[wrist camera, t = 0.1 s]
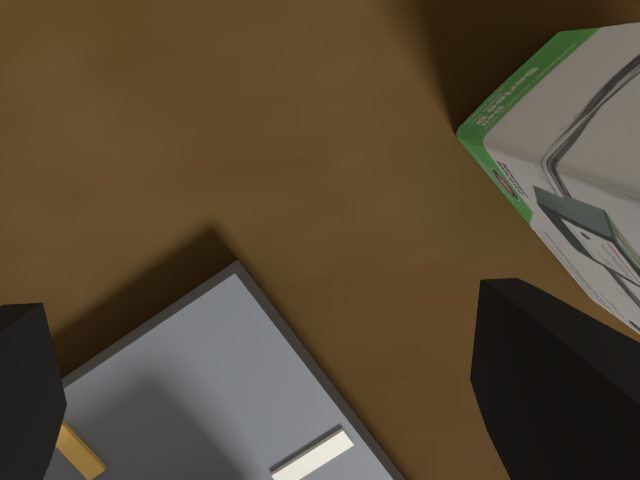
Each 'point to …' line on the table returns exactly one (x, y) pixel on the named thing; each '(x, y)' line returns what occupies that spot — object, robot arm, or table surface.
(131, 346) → the latch plate
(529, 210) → the ink box
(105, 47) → the table surface
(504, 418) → the robot arm
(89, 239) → the table surface
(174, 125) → the table surface
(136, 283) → the table surface
